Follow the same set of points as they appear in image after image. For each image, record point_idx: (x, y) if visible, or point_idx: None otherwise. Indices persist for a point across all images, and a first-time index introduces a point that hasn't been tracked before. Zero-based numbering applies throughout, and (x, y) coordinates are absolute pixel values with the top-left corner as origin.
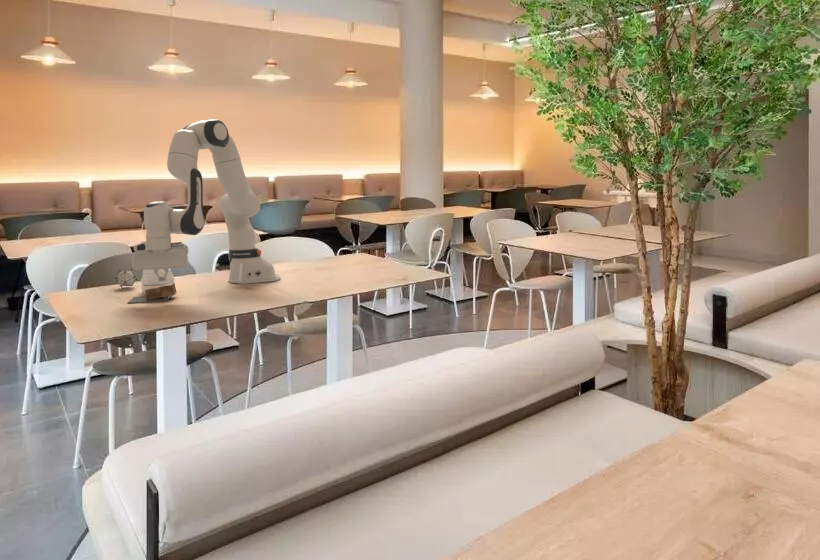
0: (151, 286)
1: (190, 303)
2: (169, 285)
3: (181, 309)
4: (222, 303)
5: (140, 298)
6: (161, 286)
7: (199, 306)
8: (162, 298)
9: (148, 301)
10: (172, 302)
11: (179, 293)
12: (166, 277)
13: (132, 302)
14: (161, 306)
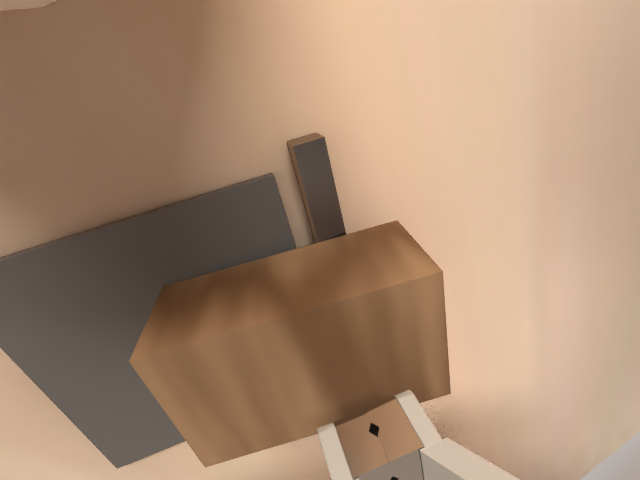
0: (177, 350)
1: (502, 384)
2: (428, 399)
3: None
4: (622, 363)
5: (106, 344)
6: (349, 406)
7: (540, 420)
8: None
9: None
10: None
11: (355, 42)
12: (423, 411)
13: (152, 453)
14: None
